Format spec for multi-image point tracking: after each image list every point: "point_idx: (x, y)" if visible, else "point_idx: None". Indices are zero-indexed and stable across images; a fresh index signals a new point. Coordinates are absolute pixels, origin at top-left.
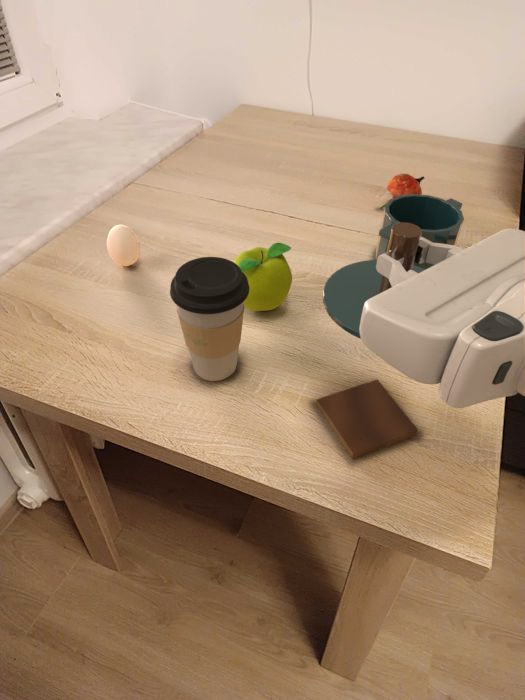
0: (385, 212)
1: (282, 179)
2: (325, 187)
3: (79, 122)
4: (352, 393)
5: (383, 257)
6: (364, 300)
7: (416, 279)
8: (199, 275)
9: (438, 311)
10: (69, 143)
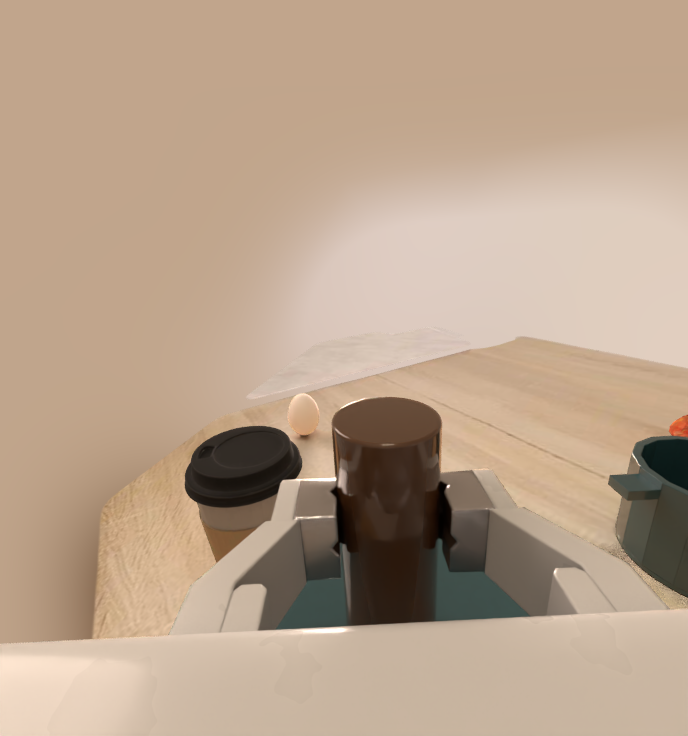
0: (632, 452)
1: (524, 397)
2: (577, 414)
3: (378, 334)
4: None
5: (279, 490)
6: (311, 608)
7: (78, 679)
8: (235, 445)
9: None
10: (359, 344)
